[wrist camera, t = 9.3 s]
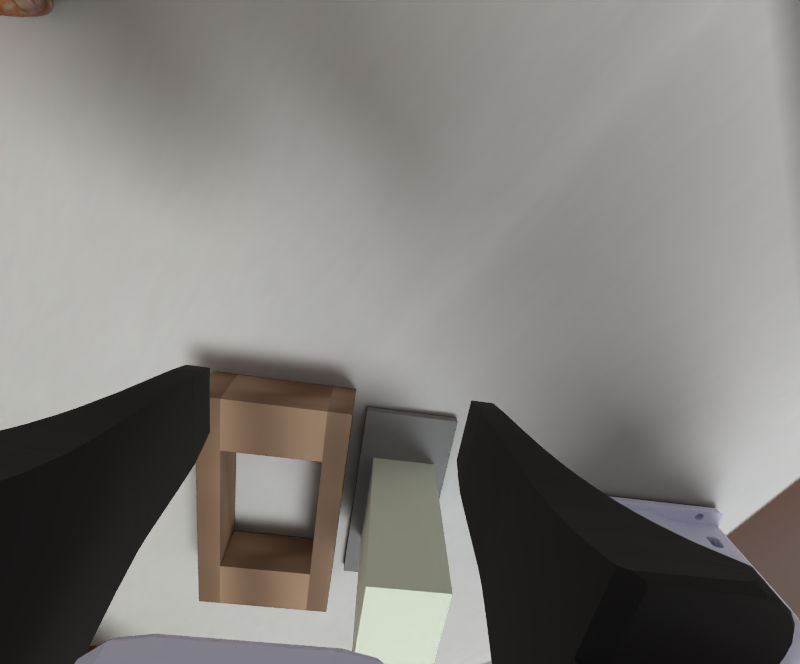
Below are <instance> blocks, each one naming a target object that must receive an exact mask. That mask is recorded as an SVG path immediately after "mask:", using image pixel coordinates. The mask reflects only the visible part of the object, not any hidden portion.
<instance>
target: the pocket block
mask: <svg viewBox="0 0 800 664" xmlns="http://www.w3.org/2000/svg"><path fill="white" fill-rule="evenodd" d="M355 393H356V389H349V388H341V387H333V386H325V385H317V384H309V383H301V382H293V381H285V380H277V379H269V378H261V377H253V376H245V375H237V374H229V373H221V372H214V373H213V374H212V375H211V376H210V433H209V435H208V437H207V440H206V442H205V444H204V446H203V448H202V450H201V453H200V455H199V457H198V459H197V461H196V487H197V532H198V576H199V601H205V602H217V603H229V604H240V605H252V606H263V607H275V608H287V609H298V610H310V611H322V612H326V609H327V602H328V595H329V588H330V581H331V574H332V566H333V559H334V551H335V544H336V536H337V529H338V521H339V514H340V506H341V498H342V491H343V483H344V476H345V468H346V461H347V453H348V446H349V438H350V430H351V423H352V415H353V408H354V400H355ZM236 452H238V453H247V454H256V455H265V456H274V457H283V458H292V459H301V460H309V461H318V462H322V467H321V476H320V486H319V495H318V504H317V514H316V523H315V532H314V539H310V538H300V537H290V536H279V535H269V534H259V533H249V532H239V531H235V480H236Z"/></svg>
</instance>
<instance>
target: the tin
mask: <svg viewBox="0 0 800 664" xmlns="http://www.w3.org/2000/svg"><path fill="white" fill-rule="evenodd" d="M52 9H53V1H52V0H0V15H6V16H18V17H29V16H42V15H45V14H48V13H49V12H51V11H52Z"/></svg>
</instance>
